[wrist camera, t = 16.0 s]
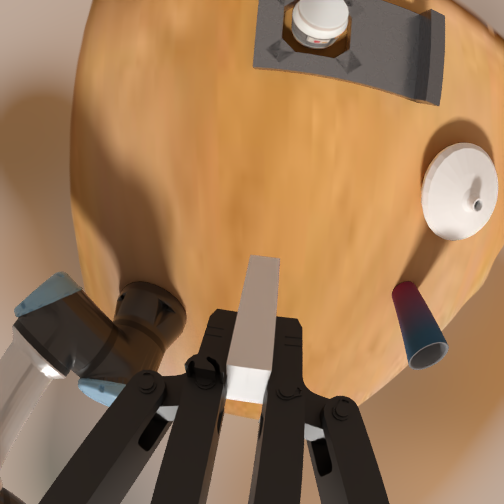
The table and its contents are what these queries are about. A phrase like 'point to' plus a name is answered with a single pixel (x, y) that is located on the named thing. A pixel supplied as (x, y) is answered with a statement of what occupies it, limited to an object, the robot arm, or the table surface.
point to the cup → (418, 327)
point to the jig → (365, 49)
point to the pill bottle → (319, 22)
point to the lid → (459, 191)
